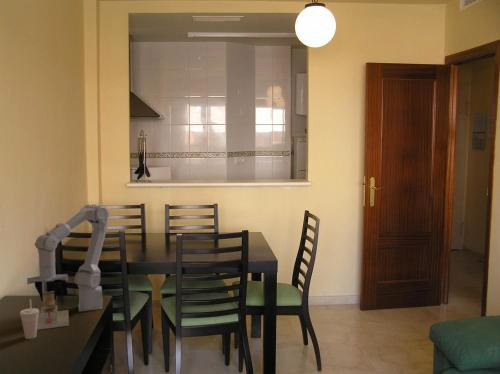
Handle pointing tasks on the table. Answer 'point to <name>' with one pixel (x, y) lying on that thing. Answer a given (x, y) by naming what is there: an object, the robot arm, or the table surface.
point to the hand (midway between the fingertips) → (48, 299)
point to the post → (48, 300)
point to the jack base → (52, 318)
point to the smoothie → (30, 321)
